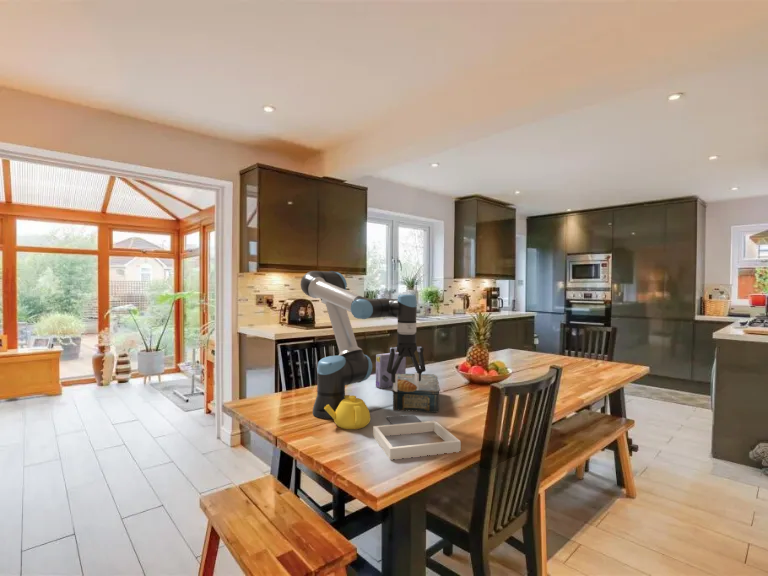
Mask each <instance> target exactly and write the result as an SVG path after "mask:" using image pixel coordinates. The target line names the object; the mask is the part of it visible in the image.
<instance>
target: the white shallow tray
mask: <svg viewBox="0 0 768 576" xmlns="http://www.w3.org/2000/svg"><path fill="white" fill-rule="evenodd" d="M372 427H373V428H372V429H373V430H372V436H373V438H374V439H375V441H376V442H377V444H378V445H379V447H380V448H381V449H382V450H383V452H384V454H385V455H386V457H388V459H389V461H393V459H395V460H402V458H404V459H409V458H410V459H411V457H413V458H418V457H419V458H420V456H421V457H427V455H428V456H429V455H430V456H437V454H438V455H445V454H444V453H447V454H454V453H453V452H456V453H460V452H459V451H461V448H462V447H461V445H462V442H461V440H460V439H459V438H457V437H456V436H455V435H454V434H452V433H451V432H450V431H449V430H447V429H446V427H444V426H442V425H441V424H440V423H439V422H437V420H429V421H422V422H416V423H405V424H393V425H392V424H386V425H373V426H372ZM430 432H434V433H435V434H436V435H437V436H438V437H439V436H440V437H439V438H441V439H442V441H437V442H427V443H417V444H409V445H400V446H399V445H398V446H393V445H392V444H391V443H390V441H389V440H388V439H387V438H386V437H388V436H390V435H391V436H399V435H400V434H401V435H410V434H411V433H412V434H420V433H422V434H423V433H430ZM401 435H400V436H401Z"/></svg>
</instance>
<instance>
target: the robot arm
mask: <svg viewBox="0 0 768 576" xmlns="http://www.w3.org/2000/svg"><path fill="white" fill-rule="evenodd" d="M347 287H348V285H347V280H346V277H345V276H344V275H343V274H342V273H340V272H338V271H334V270H329V271H323V270H322V271H321V270H320V271H319V270H311V271H308V272H307V273H305V274H304V275H303V276H302V278H301V280H300V289H301V291H302V292H303V293H304V295H306V296H307V297H310V298H312V299H320V301H321V303H322V304H324V305H325V307H326V310H327V314H328V317H329V320H330V324H331V327H332V331H333V333H334V338H335V341H336V344H337V347H338V353H339V354H338V355H329V356H324V357H323V358H321V359H320V360H319V361H318V362H317V369H316V371H317V376H316V377H317V381H316V385H317V388H316V389H317V390H316V391H317V393H316V398H315V400H314V404H313V407H312V415H313V416H314V417H316V418H319V419H329V420H330V419H333V418H332V417H331V416H330V415H329V414H328V412H327V411H326V410H325V409H324V407H325V406H326V405H328V404H329V405H330V407H331V408H332V409H333V410H334V412H335V411H336V409H337V407H338V405H339V404H340V402H341V401H342V400H343V399H345V395H346V386H349V385H353V384H357V383H362V382H364V381H366V380H368V379H369V378H370V377H371V374H372V373H373V363H372V360H371V358H370V356H368V355H367V354H364V351H363V349H362V348H361V347H359V346H358V342H357V340H356V337H355V332H354V330H353V327H352V324H351V320H350V317H349V313H348V312H350V313H351V315H352V316H353V318H355V319H360V320H366V319H367V320H368V319H375V318H376V319H377V318H397V334H396V335H397V336H396V338H397V340H396V341H397V343H396V346H395V347H389V353H390V356H389V362H388V367H387V372H388V373H390V374H391V381H392V383H393V390H394V391H395V392H397V381H398V375H397V374H396V372H397V370H398V367H399V365H400V363H401V361H402V359H403V357H406V358H407V357H409V358H410V359H411V361H412V364H413V366H414V369H415V371H416V372H414V374H415V385H416V386H417V389H416V390H419V381H421V374H423V373H424V372H426V371H427V370H426V364H425V358H424V347H422V346H417V334H416V333H417V310H418V302H417V295H415V294H405V293H404V294H403V293H402V294H401V293H400V294H398V296H397V298H385V297H381V298H367V297H364V296H362V295H359V294H357V293H354V292H353V291H352V292H351V291H350V290H347ZM396 352H399V354H398V356H397V359H396V362H395V364H394V366H393V361H394V356H395V353H396ZM416 352H417V355H418V360H419V361H418V360H417V358H416V355H415V353H416ZM392 367H393V368H392ZM333 420H334V419H333Z"/></svg>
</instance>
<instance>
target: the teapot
mask: <svg viewBox="0 0 768 576" xmlns="http://www.w3.org/2000/svg"><path fill="white" fill-rule="evenodd" d="M324 409H325V410H326V411H327V412H328V414H329V415H330V416H331V417H332V418H333V421H334V424H336V426H337V427H338V428H341V429H343V430H359V429H363V428H365V427H367V425H368V424H369V423H370V422H371V414H370V410H369V408H368V406H367V404H366V402H365V401H364V400H363V399H362V398H360V397H359V398H358V397H357V396H356V395H350V394H345V399H343V400H342V401H341V402H340V404H339V405H338V407H337V409H336V411H335V412H334V410H333V409H332V408H331V407H330V405H329V404H328V405H326V406H325V407H324Z"/></svg>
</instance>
